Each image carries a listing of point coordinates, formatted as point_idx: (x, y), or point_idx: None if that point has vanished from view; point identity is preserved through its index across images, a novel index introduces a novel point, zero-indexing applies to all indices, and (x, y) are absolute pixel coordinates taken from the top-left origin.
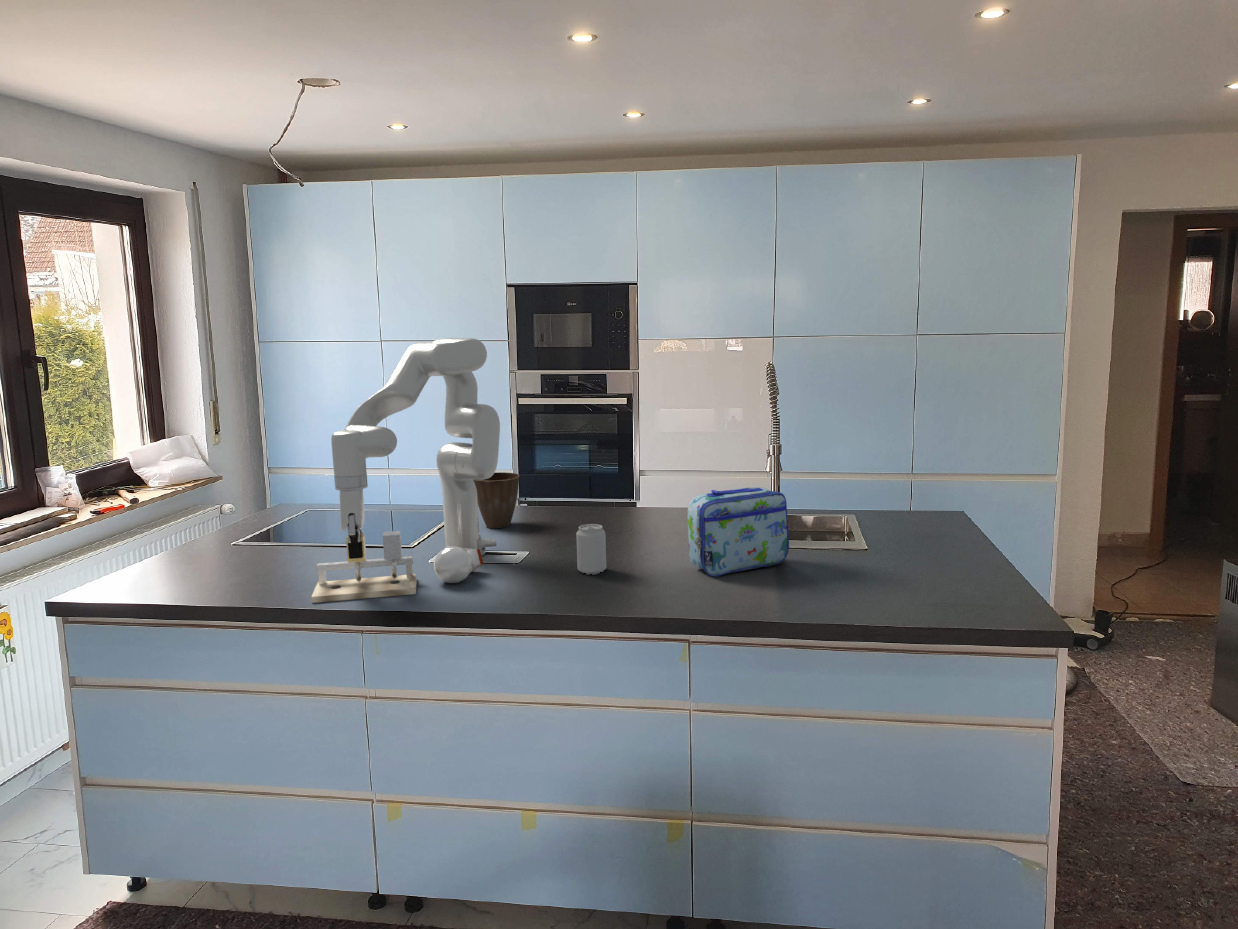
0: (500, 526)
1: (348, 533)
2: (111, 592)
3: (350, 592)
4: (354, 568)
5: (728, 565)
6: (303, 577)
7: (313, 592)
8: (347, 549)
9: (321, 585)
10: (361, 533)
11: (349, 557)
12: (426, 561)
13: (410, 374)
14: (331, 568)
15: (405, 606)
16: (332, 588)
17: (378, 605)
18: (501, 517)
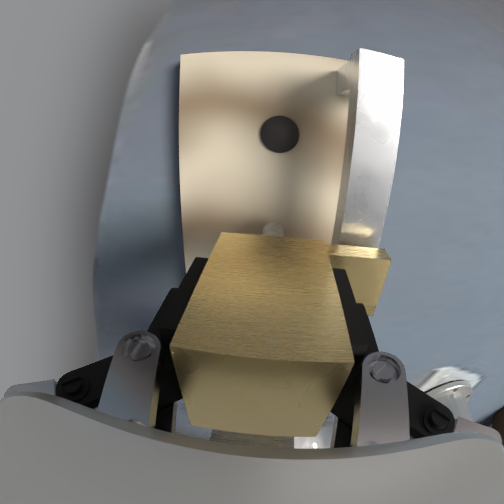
0: (495, 417)
1: (101, 405)
2: None
3: (192, 192)
4: (333, 233)
5: None
6: (492, 60)
7: (237, 52)
8: (199, 282)
9: (329, 78)
10: (333, 426)
11: (194, 261)
12: (447, 363)
13: None
14: (350, 124)
15: (117, 313)
16: (267, 120)
17: (125, 262)
18: (495, 429)
